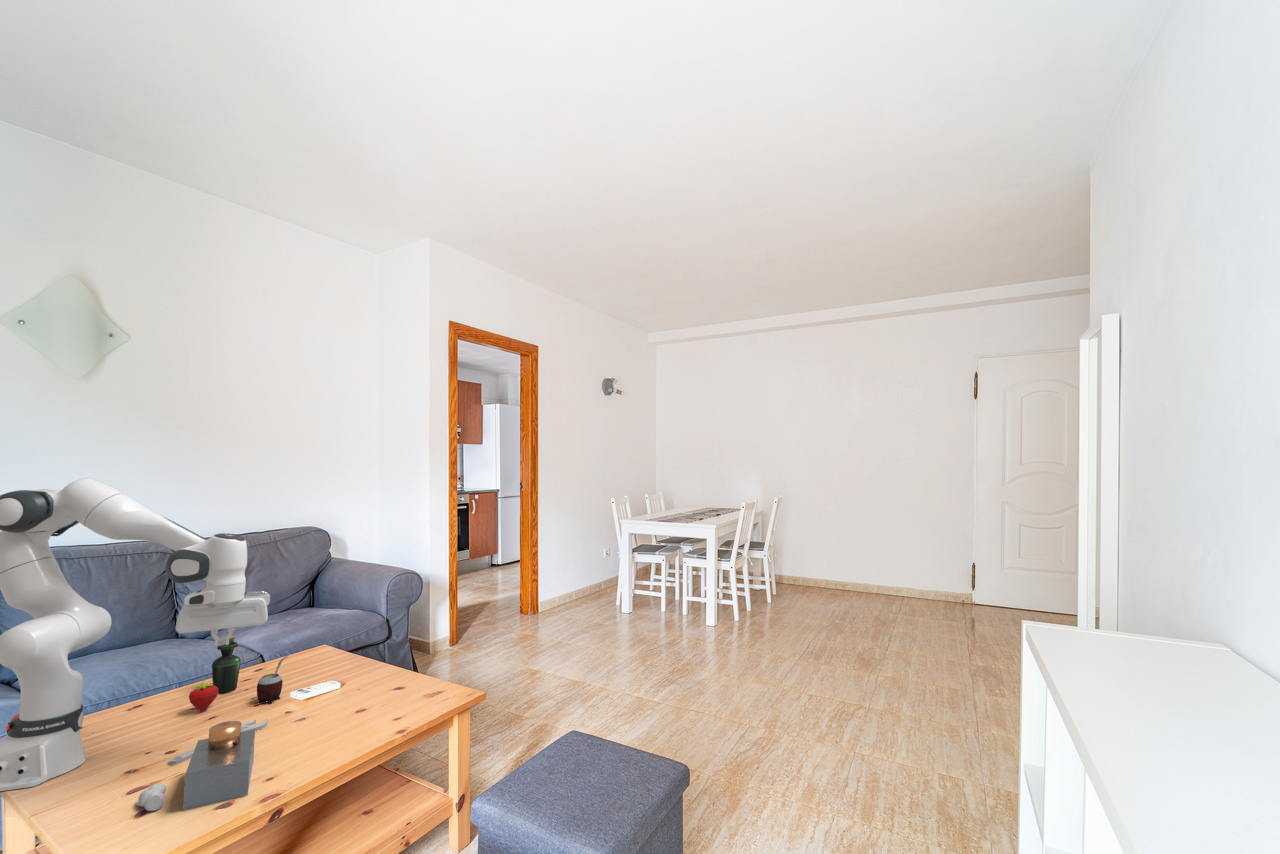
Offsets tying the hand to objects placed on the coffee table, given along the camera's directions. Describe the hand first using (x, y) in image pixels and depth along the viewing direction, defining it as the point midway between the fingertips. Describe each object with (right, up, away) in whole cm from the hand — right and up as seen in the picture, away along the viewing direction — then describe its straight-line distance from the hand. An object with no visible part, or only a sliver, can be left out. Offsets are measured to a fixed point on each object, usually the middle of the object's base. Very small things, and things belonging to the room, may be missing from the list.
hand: (222, 645), depth 154 cm
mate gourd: (-8, -31, +33) cm, 46 cm away
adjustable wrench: (-4, -30, +5) cm, 31 cm away
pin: (+9, -27, -12) cm, 31 cm away
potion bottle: (-29, -32, +41) cm, 60 cm away
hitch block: (+12, -28, -16) cm, 34 cm away
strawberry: (-24, -31, +24) cm, 46 cm away
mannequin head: (+2, -28, -25) cm, 37 cm away
